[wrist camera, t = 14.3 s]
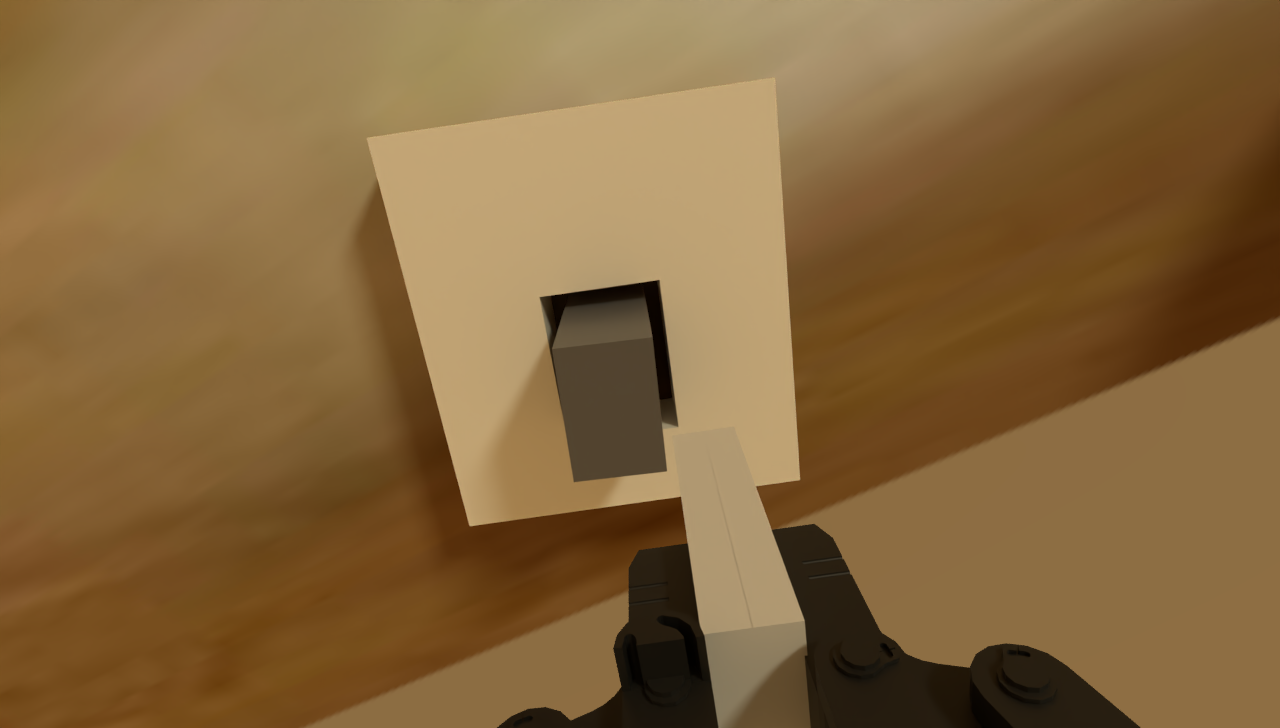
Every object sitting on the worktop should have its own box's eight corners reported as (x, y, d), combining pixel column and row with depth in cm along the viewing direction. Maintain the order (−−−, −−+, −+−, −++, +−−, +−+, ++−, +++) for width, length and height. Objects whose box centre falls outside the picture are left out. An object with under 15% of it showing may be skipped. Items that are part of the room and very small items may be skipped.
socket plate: (755, 85, 32) (774, 77, 28) (781, 446, 38) (800, 479, 34) (396, 138, 32) (366, 137, 28) (483, 488, 38) (469, 526, 35)
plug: (642, 283, 35) (652, 337, 25) (653, 386, 37) (667, 471, 27) (569, 292, 35) (552, 348, 25) (584, 394, 37) (573, 482, 27)
